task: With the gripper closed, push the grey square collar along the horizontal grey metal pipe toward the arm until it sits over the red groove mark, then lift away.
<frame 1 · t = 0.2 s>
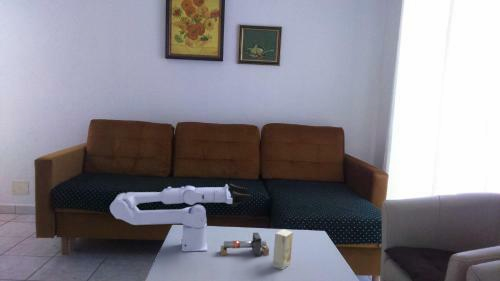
hand: (248, 194, 136), 21 cm above the table, tool horizontal, fingers open, 7 cm apart
grey square collar: (256, 244, 133), point 4 cm above the table, slide at 4.5 cm
skincare box: (281, 265, 125), on the table
pipe: (244, 253, 133), on the table
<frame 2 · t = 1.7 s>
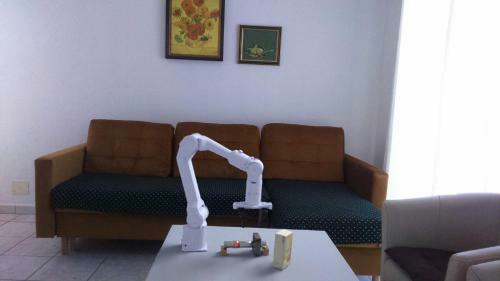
hand: (251, 226, 132), 10 cm above the table, tool pointing down, fingers open, 6 cm apart
nothing on the table moved.
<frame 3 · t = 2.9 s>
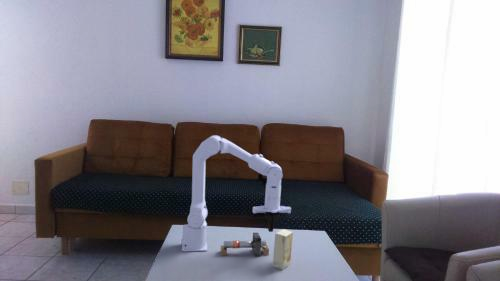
hand: (270, 230, 133), 9 cm above the table, tool pointing down, fingers closed
nothing on the table moved.
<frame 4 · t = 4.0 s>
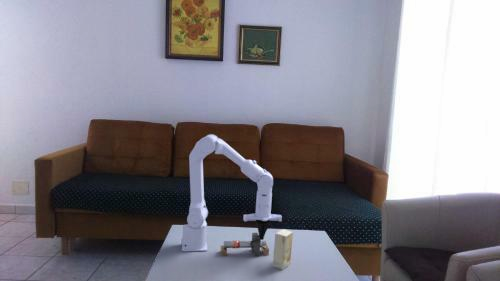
hand: (261, 238, 133), 6 cm above the table, tool pointing down, fingers closed
grey square collar: (255, 244, 133), point 4 cm above the table, slide at 4.2 cm, touching gripper
everything else where it was.
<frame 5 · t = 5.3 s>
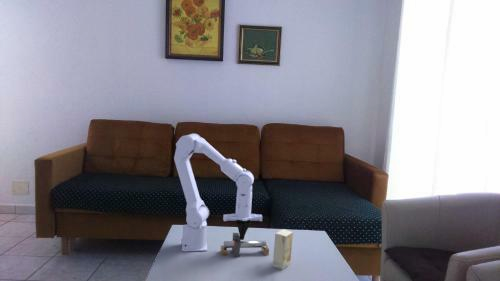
hand: (241, 238, 132), 6 cm above the table, tool pointing down, fingers closed
grey square collar: (236, 244, 132), point 4 cm above the table, slide at -3.4 cm, touching gripper
everything else where it was.
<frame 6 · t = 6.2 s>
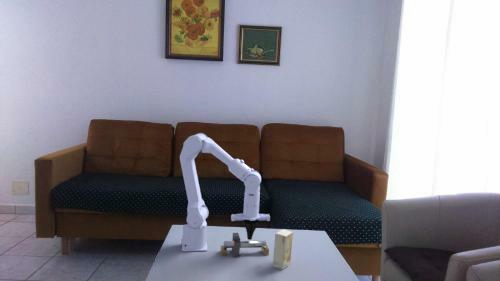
hand: (249, 238, 132), 6 cm above the table, tool pointing down, fingers closed
grey square collar: (236, 244, 132), point 4 cm above the table, slide at -3.5 cm
everything else where it was.
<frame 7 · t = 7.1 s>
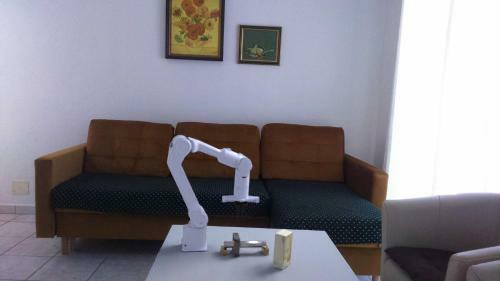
hand: (239, 219, 139), 10 cm above the table, tool pointing down, fingers closed
nothing on the table moved.
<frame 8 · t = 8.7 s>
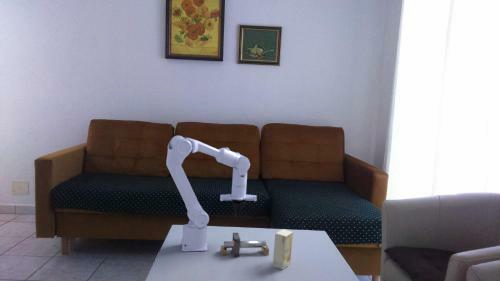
hand: (237, 217, 141), 10 cm above the table, tool pointing down, fingers closed
nothing on the table moved.
at the end: grey square collar slide at -3.5 cm; grey square collar touching nothing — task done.
